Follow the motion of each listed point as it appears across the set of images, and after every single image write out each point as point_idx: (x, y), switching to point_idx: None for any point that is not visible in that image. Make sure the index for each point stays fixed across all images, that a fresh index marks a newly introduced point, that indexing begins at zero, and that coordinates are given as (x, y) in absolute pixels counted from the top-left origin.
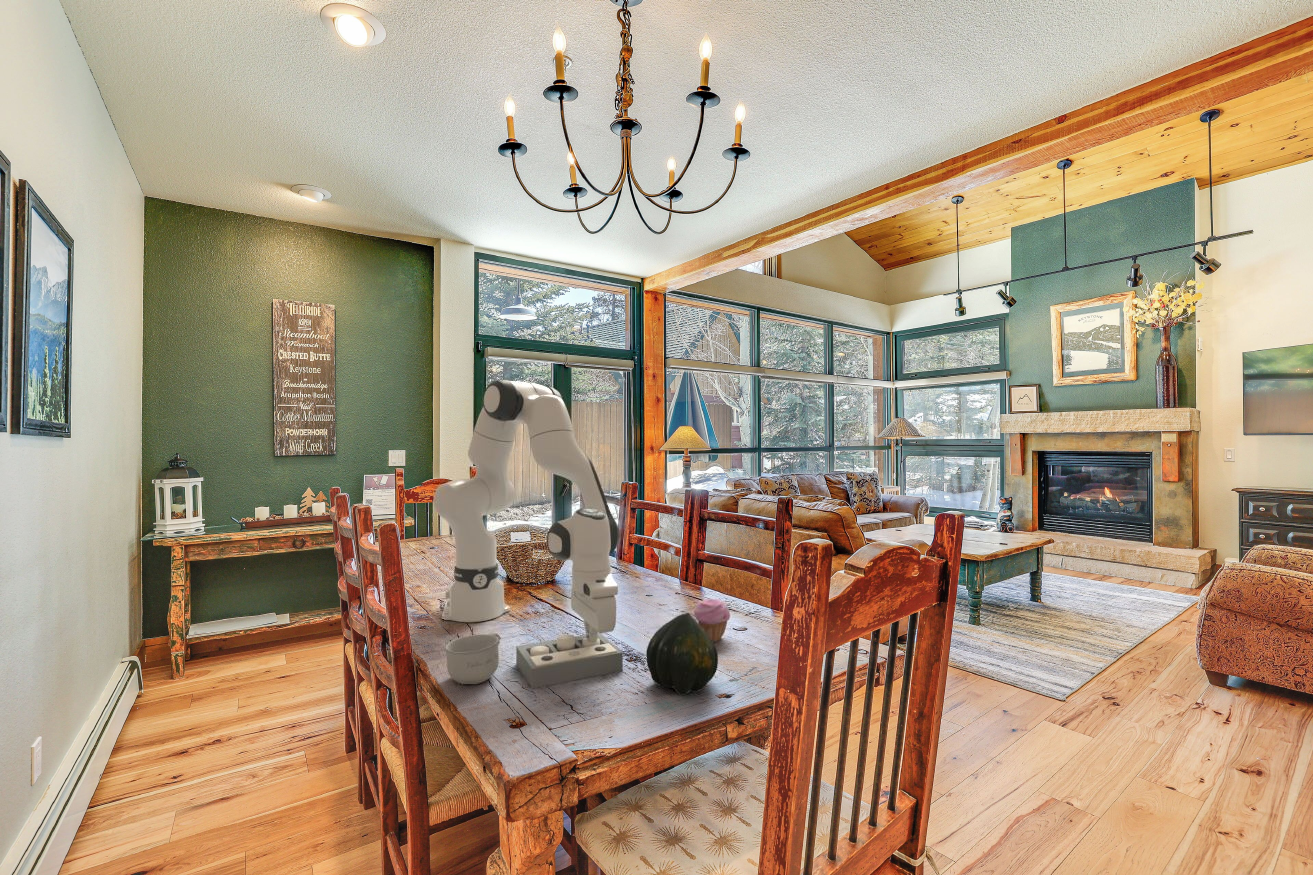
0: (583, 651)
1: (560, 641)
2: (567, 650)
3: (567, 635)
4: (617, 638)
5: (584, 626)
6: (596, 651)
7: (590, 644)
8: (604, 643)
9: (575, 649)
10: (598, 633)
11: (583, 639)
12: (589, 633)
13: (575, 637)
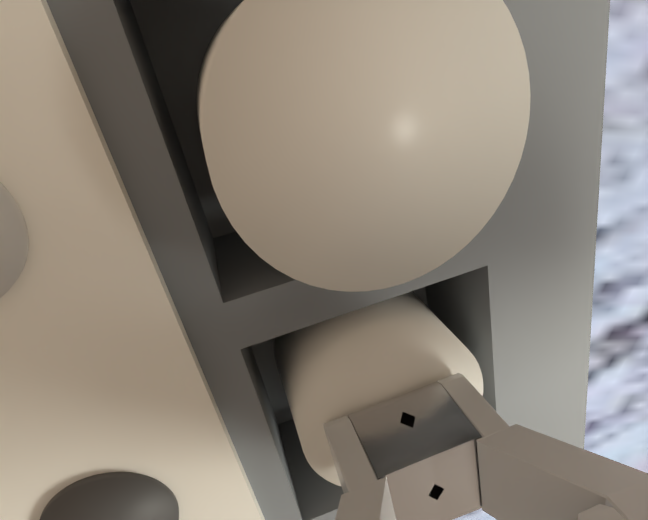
0: (31, 358)
1: (241, 6)
2: (90, 129)
3: (464, 170)
4: (602, 445)
5: (581, 448)
6: (26, 497)
7: (301, 408)
8: (323, 509)
9: (127, 252)
10: (568, 441)
11: (446, 340)
12: (366, 498)
13: (570, 246)
